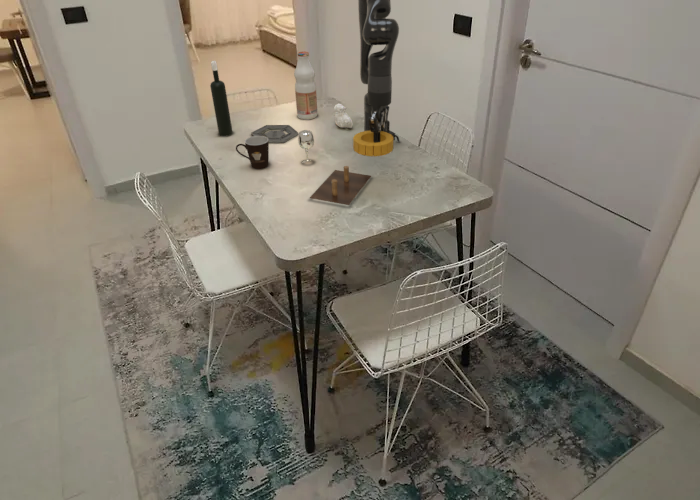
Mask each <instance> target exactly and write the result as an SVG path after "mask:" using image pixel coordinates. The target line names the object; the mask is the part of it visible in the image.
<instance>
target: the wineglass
mask: <svg viewBox="0 0 700 500" xmlns="http://www.w3.org/2000/svg"><path fill="white" fill-rule="evenodd" d="M297 141H298V142H297V143H298V146H299V148H300V149H303V150H305V154H306V159H305V160H303V161H302V162H301V164H304V163H308V162H312V160H311V159H309V150H310V149H312V148H313V147H314V145H315V139H314V134H313V132H312V131H311V130H308V129H304V130H300V131H299V132H298V138H297Z"/></svg>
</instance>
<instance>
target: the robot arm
mask: <svg viewBox="0 0 700 500" xmlns="http://www.w3.org/2000/svg"><path fill="white" fill-rule="evenodd" d="M357 3H358V7H357V8H358V29H359V38H360V39H359V40H360V41H359V42H360V43H359V45H360V53H359V55H360V56H359V58H360V59H359V60H360V61H359V77H360V81H361V83H362V84H363V85H367V92H366V93H365V94H364V97H363V107H364V108H363V125H364V127H363V131H371V132H374V138H373V141H374V143H378V142H380V137H381V131H383V132H387V133H389V134H391V135H392V136H393V138H394V141H396V140H397V142H398V143H400V141H401V140H400V137H399V136H398V135H397V134H396V132H394V131H391V130H390V126H391V125H390V124H391V123H390V121H389V120H388V117H389V112H390V105H391V104H392V95H393V92H392V90H393V78H392V66H393V65H392V64H393V57H394V56H393V55H394V51H395V49H396V48H395V47H396V45H397V42H398V38H399V34H400V27H399V23H398V21H397V20H396V19H395V18H388V17H389V16H390V14H391V12H392V3H391V0H357ZM373 46H384V48H383V49H381V50H379V51H375V52H373V53H371V51H372V48H373Z"/></svg>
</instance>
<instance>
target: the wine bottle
mask: <svg viewBox="0 0 700 500" xmlns="http://www.w3.org/2000/svg"><path fill="white" fill-rule="evenodd" d="M210 66H211V70H212V75H213V81H211V83H210V85H209V86H210V91H211V98H212V103H213V109H214V114H215V115H214V116H215V120H216V125H217V130H218V131H217V132H218V136H221V137H228V136H229V137H230V136H232V135H233V134H234V132H233V126H232V121H231V120H232V119H231V115H230V107H229V102H228V96H227V89H226V84H225V82H224V81H222V80H220V75H219V69H218V64H217V61H216V60H211V62H210Z"/></svg>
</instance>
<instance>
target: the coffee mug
mask: <svg viewBox="0 0 700 500" xmlns="http://www.w3.org/2000/svg"><path fill="white" fill-rule="evenodd" d="M269 144H270V143H269V139H268V138H267V137H266V136H265V135H262V136H250V137H247V138H245V140H244V143H238V144H237V145H236V146H235V151H236V153H238V154H239V155H240V156H241V157H244V158H246V159H247V160H249V162H250V166H251V168H252V169H254V170H264V169H266V168H268V167H269V162H270V161H269V159H270V158H269V151H270V149H269ZM240 146H242V147H244V148H245V150H246V151H247V155H248V156H247V155H245V154H243V153H242V152H240V151H239V150H238V147H240Z"/></svg>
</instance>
